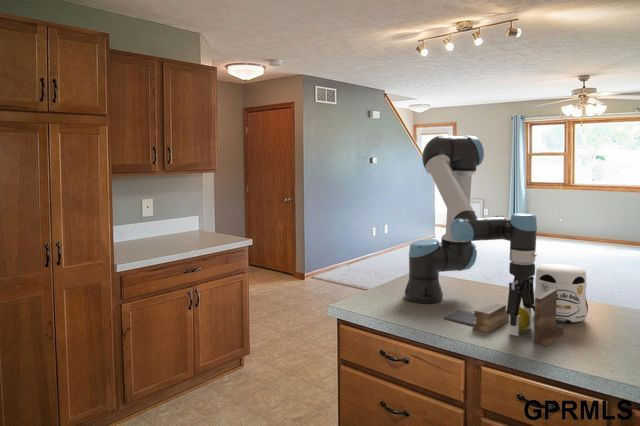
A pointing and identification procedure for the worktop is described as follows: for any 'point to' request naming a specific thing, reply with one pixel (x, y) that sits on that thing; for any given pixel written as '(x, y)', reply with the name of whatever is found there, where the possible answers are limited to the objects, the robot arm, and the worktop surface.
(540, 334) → the wooden blocks
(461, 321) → the rubber mat
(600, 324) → the worktop surface
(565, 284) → the milk container
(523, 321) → the lemon
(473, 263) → the robot arm
